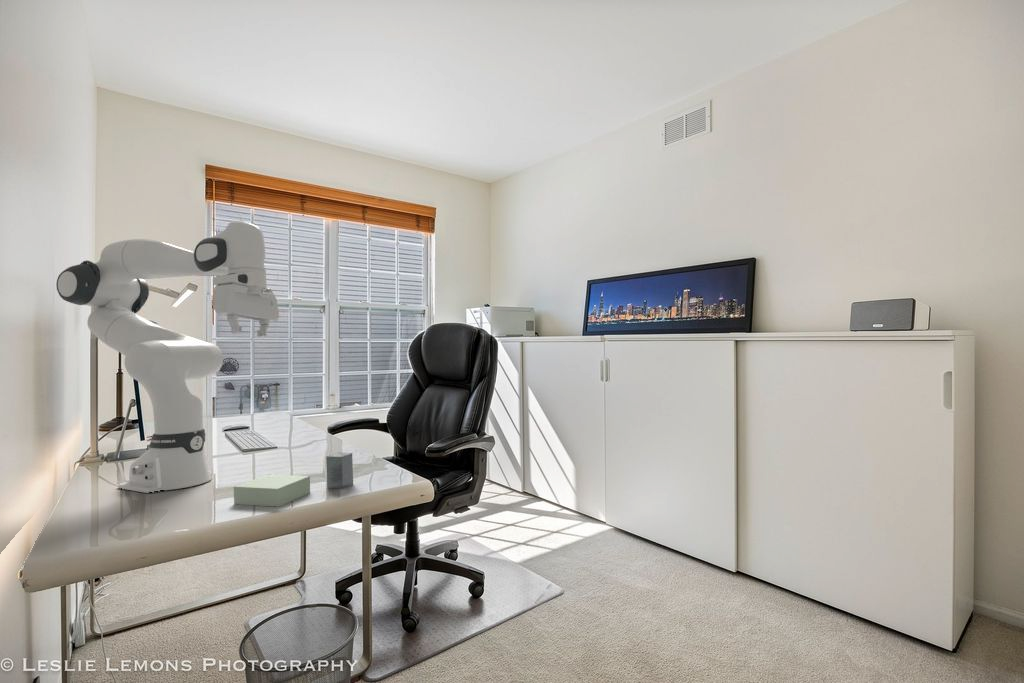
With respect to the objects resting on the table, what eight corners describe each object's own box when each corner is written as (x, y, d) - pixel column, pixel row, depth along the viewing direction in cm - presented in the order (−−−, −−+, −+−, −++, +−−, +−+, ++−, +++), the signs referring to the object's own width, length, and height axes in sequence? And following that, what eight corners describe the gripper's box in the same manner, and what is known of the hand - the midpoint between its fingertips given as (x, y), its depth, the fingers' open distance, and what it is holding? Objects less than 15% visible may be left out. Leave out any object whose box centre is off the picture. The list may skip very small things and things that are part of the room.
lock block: (327, 488, 126) (326, 456, 127) (337, 483, 131) (337, 452, 131) (342, 489, 125) (341, 456, 125) (353, 484, 130) (352, 453, 130)
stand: (234, 504, 115) (233, 486, 115) (269, 490, 126) (268, 474, 126) (278, 506, 112) (277, 488, 112) (310, 492, 123) (309, 476, 123)
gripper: (263, 291, 142) (265, 339, 141) (207, 276, 122) (209, 333, 121) (283, 288, 141) (285, 337, 140) (230, 273, 121) (232, 330, 120)
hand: (249, 335), depth 130 cm, fingers open, 8 cm apart
